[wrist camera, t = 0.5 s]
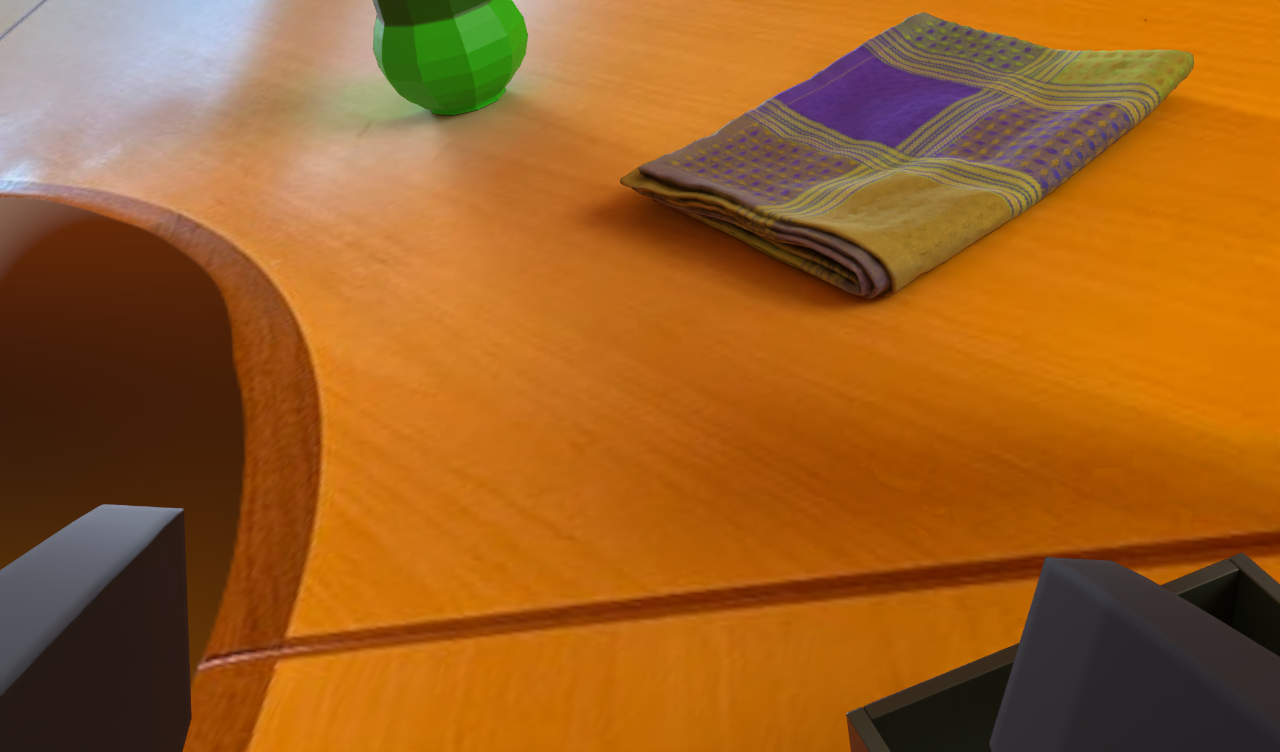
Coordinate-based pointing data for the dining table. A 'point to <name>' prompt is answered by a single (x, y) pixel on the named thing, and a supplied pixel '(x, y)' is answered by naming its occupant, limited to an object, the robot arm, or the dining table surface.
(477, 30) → the plastic bottle
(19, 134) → the dining table surface
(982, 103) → the dish towel
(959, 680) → the carton
